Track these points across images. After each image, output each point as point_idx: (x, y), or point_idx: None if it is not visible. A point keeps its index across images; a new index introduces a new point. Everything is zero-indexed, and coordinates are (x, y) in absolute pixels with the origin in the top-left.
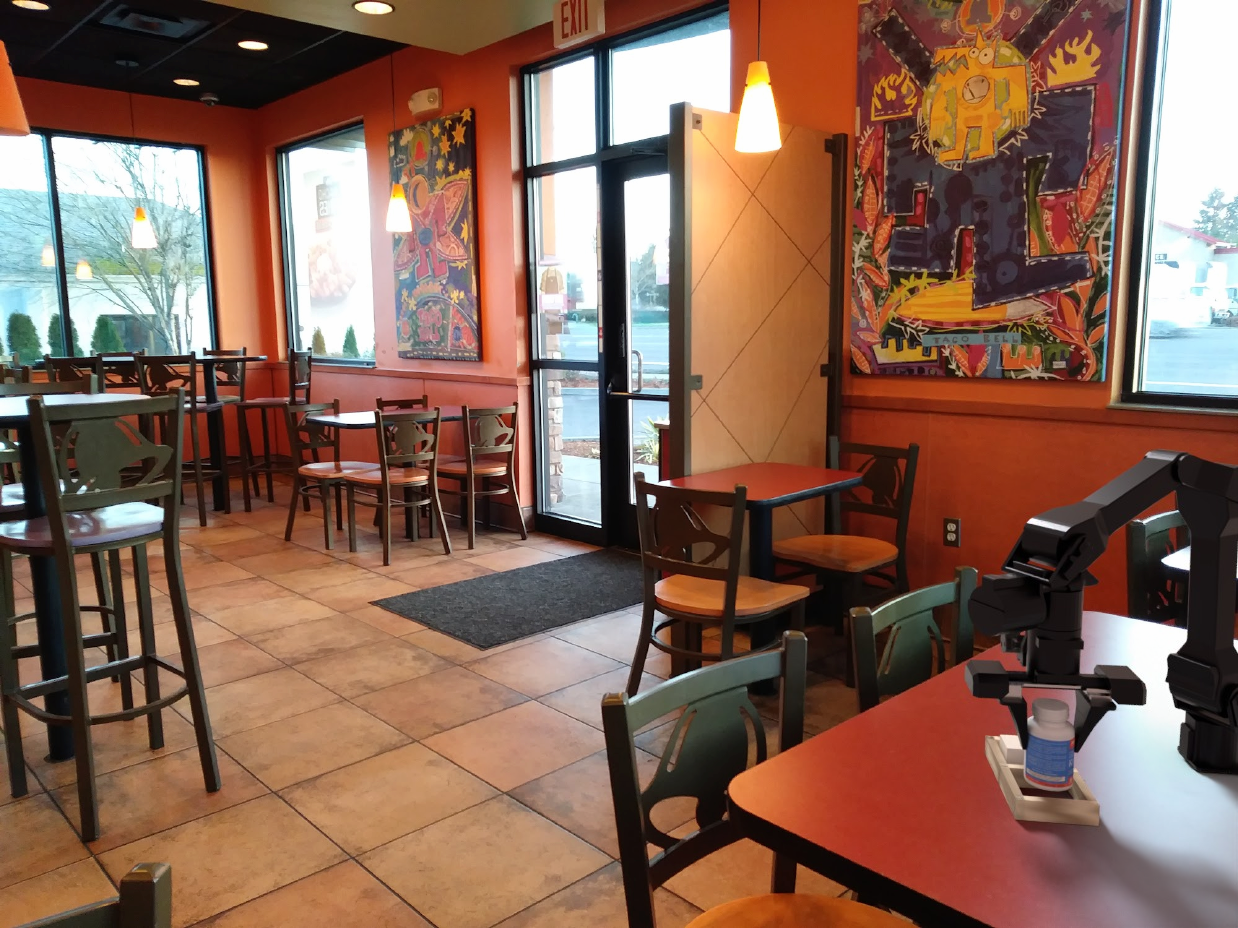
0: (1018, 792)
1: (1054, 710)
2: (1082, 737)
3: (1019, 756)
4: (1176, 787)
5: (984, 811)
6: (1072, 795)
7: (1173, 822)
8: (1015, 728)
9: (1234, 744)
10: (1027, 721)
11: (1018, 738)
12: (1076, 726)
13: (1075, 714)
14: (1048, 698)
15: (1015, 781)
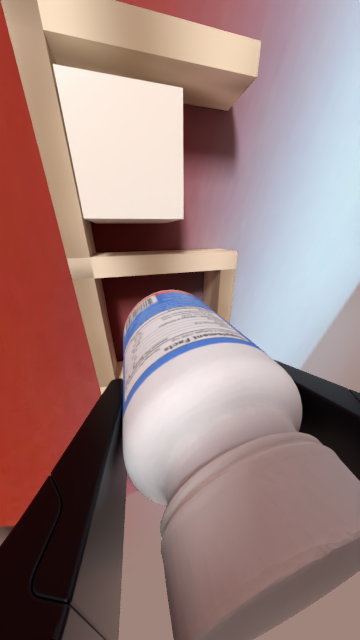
0: (109, 376)
1: (271, 628)
2: None
3: (124, 220)
4: (355, 219)
5: (56, 367)
6: (204, 285)
7: (293, 321)
8: (81, 427)
9: None
10: (120, 586)
11: (129, 115)
12: (304, 419)
13: (356, 423)
14: (347, 549)
15: (106, 339)
